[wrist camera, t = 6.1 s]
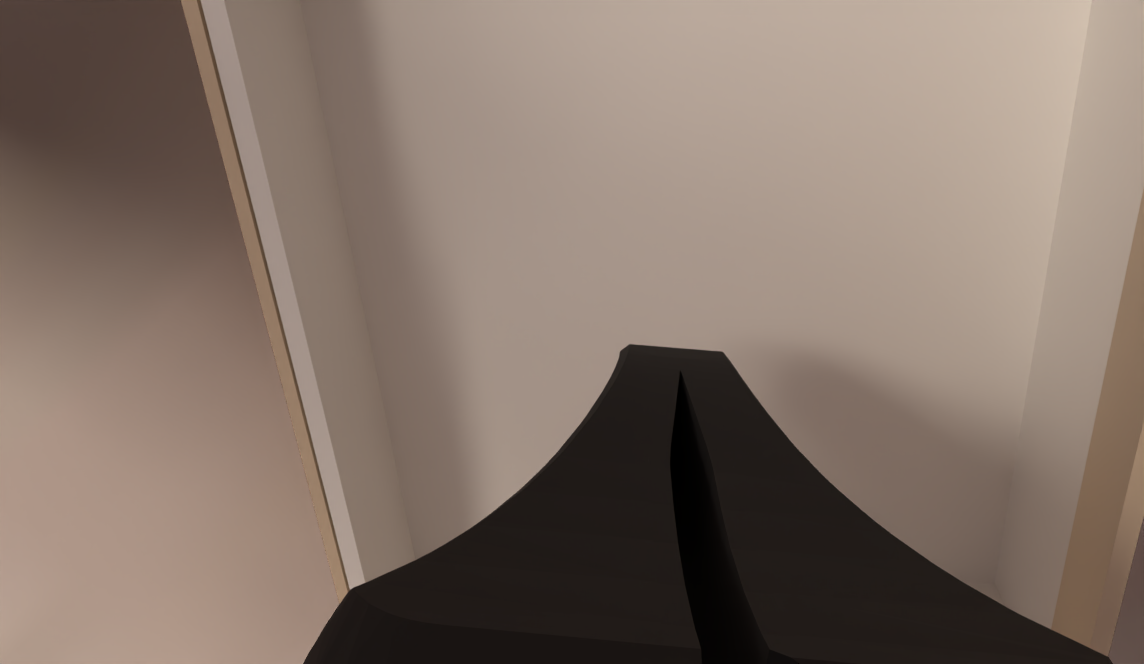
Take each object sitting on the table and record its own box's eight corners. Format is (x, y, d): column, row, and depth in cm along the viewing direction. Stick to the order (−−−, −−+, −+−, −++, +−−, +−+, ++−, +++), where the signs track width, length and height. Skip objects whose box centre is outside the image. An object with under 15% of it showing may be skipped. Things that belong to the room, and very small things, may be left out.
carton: (237, -169, 14) (136, -167, 11) (1145, -257, 12) (1281, -278, 10) (402, 586, 20) (364, 701, 18) (1001, 580, 19) (1058, 703, 16)
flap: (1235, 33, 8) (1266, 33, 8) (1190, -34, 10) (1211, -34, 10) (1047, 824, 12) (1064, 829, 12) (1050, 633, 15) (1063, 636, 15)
